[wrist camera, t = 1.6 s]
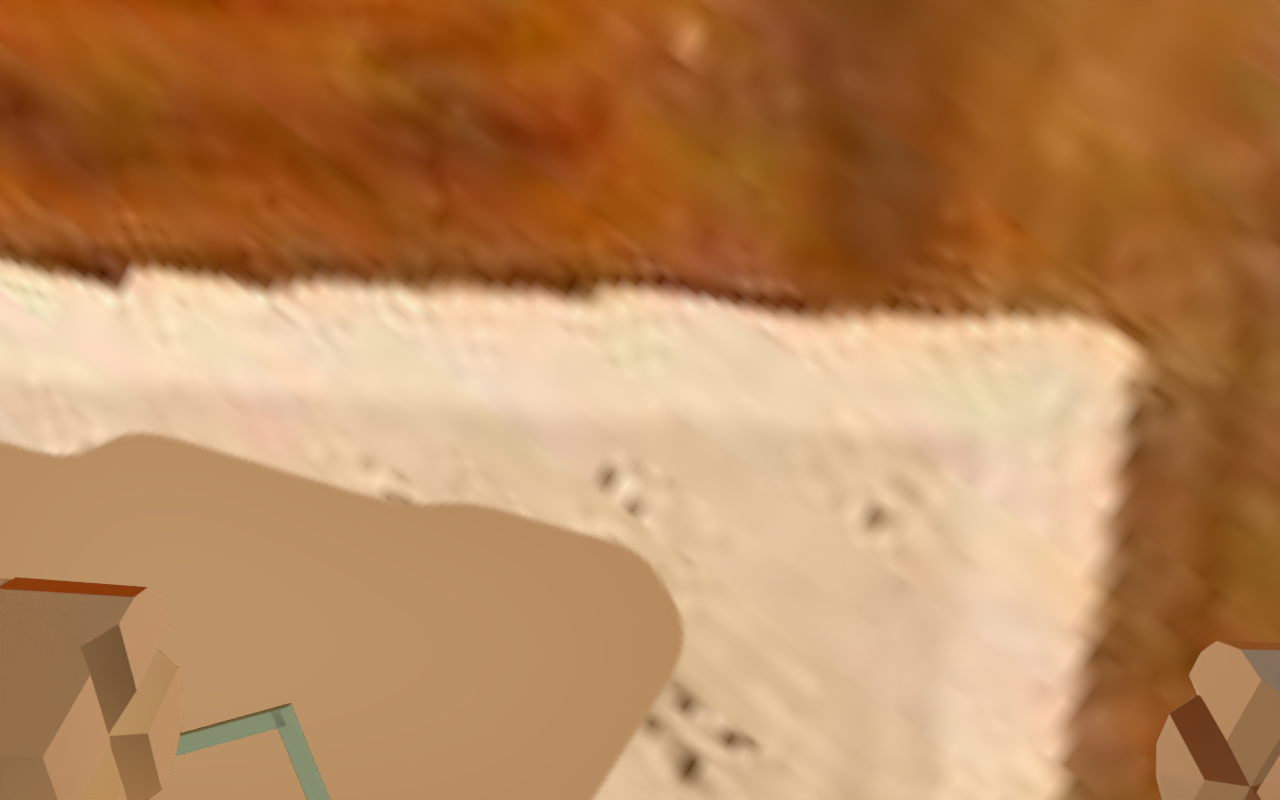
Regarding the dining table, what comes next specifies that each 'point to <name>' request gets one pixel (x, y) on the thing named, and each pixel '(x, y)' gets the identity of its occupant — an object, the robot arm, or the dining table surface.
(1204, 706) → the robot arm
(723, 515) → the dining table surface
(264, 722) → the frame
